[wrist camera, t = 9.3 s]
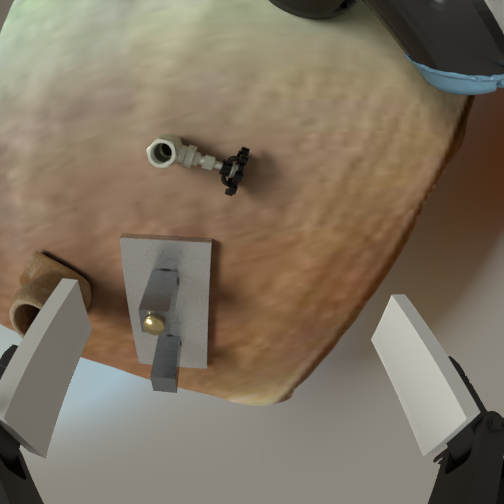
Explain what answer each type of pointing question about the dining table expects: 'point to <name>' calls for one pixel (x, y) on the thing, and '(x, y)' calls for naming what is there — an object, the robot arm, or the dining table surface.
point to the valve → (198, 160)
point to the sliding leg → (159, 302)
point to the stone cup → (40, 289)
